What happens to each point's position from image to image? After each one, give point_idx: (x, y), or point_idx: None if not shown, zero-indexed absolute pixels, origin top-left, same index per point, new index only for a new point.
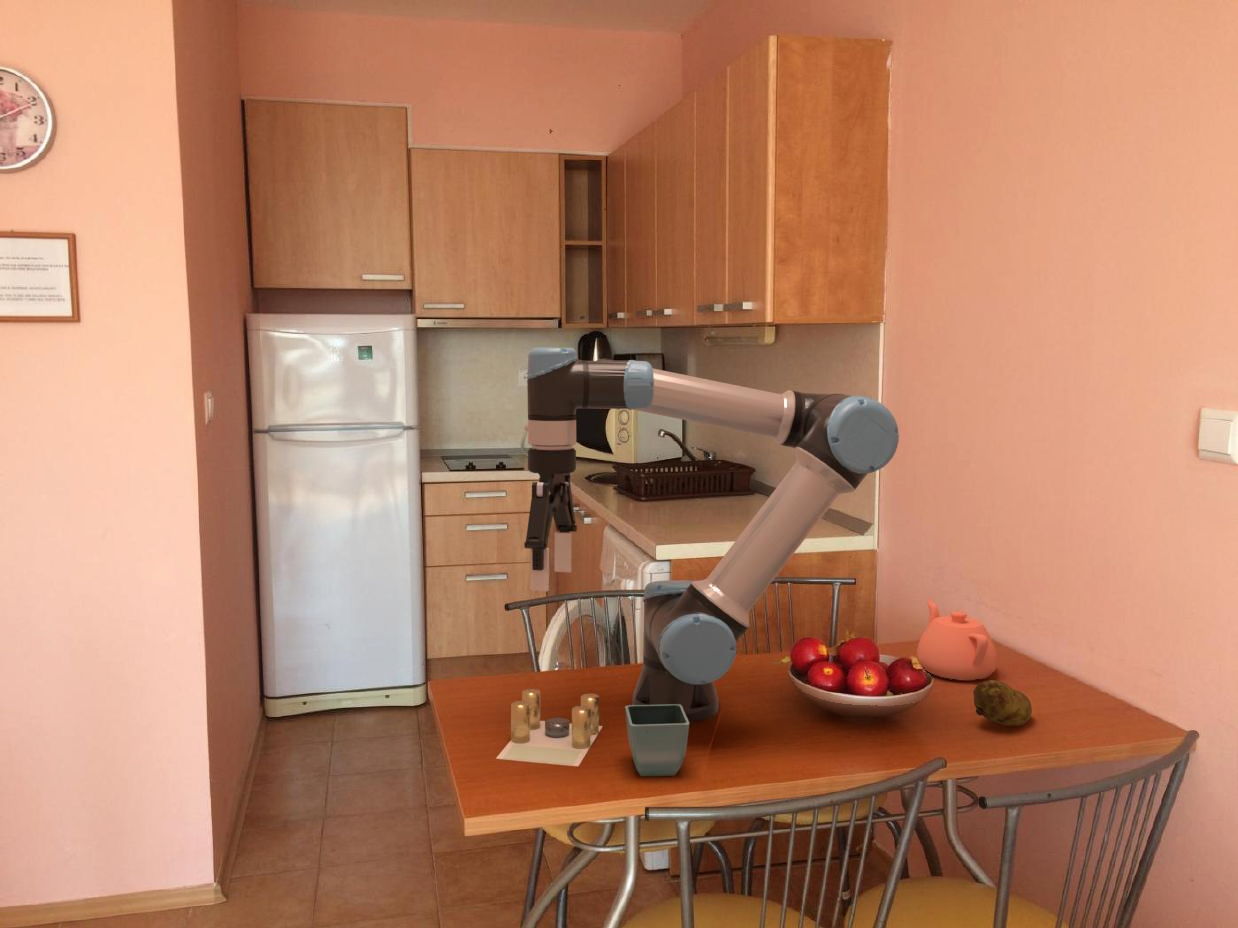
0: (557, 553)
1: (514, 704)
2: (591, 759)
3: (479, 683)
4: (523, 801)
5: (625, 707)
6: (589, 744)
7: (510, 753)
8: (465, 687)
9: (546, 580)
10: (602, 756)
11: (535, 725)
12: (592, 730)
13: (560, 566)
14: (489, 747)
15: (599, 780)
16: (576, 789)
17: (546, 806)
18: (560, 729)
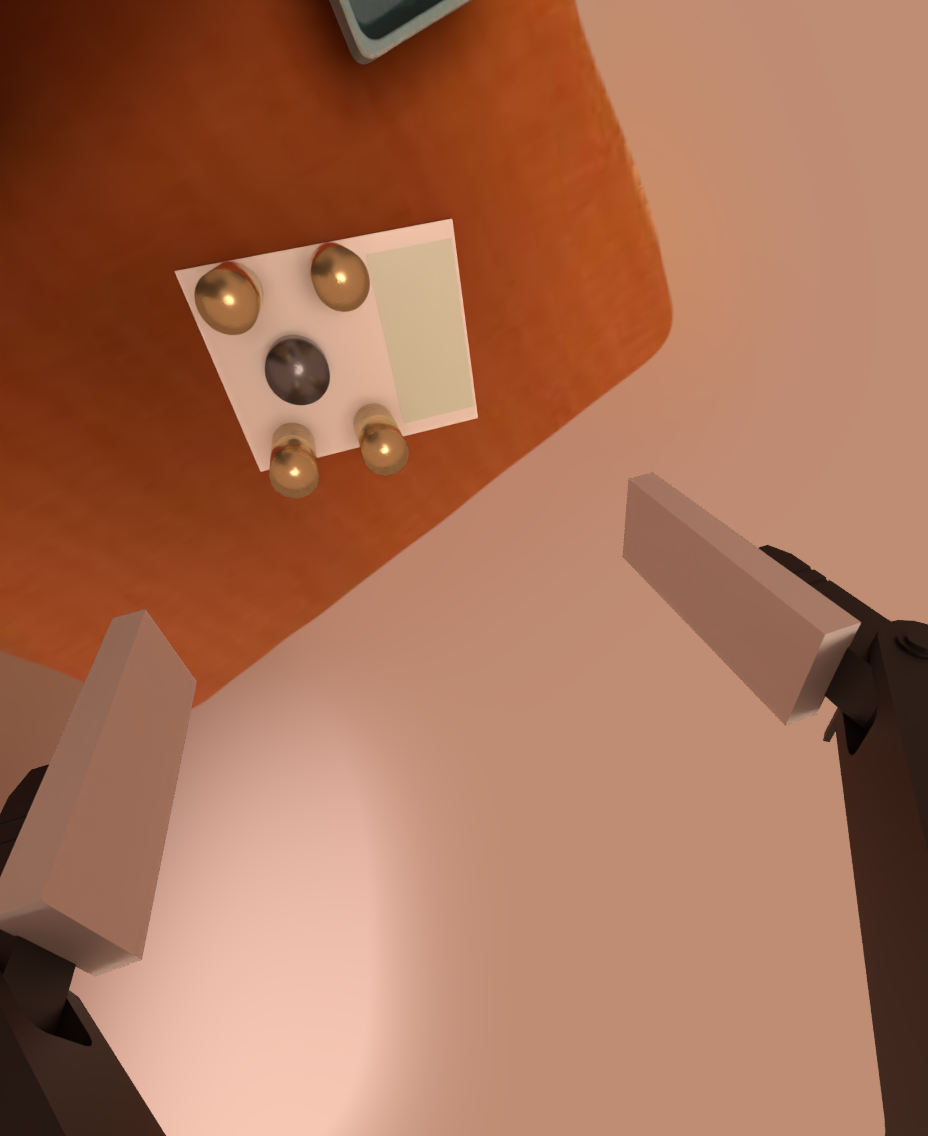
0: (167, 768)
1: (395, 464)
2: (382, 209)
3: None
4: (623, 267)
5: (383, 52)
6: (332, 242)
7: (448, 403)
8: None
9: (687, 505)
10: (351, 185)
11: (303, 429)
12: (252, 272)
13: (172, 682)
14: (420, 463)
15: (489, 128)
16: (550, 171)
17: (636, 206)
18: (319, 350)
